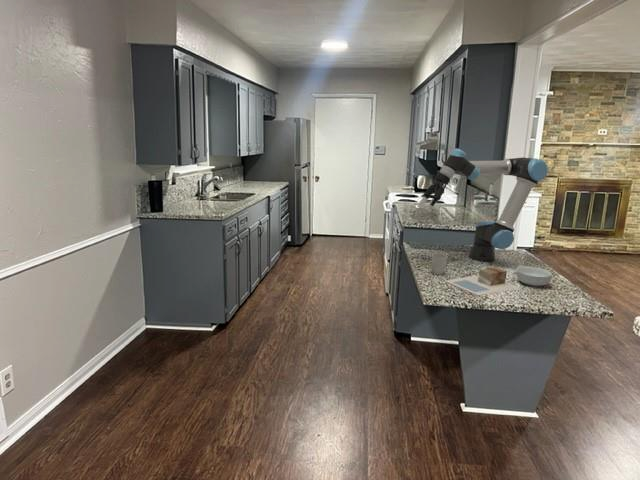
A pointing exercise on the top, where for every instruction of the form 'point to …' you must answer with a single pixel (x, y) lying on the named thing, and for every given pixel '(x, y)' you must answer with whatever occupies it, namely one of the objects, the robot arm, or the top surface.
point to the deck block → (492, 276)
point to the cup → (438, 263)
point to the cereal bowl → (533, 276)
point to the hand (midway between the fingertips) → (423, 209)
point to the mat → (479, 286)
